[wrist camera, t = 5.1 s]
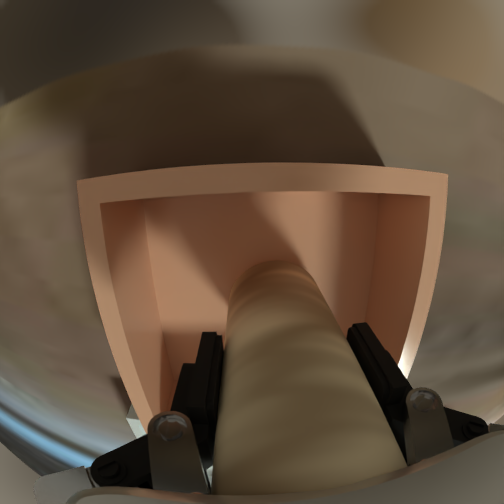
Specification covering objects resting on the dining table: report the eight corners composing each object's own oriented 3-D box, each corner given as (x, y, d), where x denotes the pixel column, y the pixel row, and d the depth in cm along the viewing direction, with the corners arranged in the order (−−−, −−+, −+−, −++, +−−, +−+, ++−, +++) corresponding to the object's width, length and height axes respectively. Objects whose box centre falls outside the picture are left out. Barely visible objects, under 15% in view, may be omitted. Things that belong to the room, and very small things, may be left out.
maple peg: (322, 258, 15) (453, 457, 3) (315, 337, 16) (379, 526, 5) (226, 261, 15) (187, 503, 3) (231, 341, 16) (221, 547, 5)
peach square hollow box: (385, 167, 15) (448, 174, 9) (359, 369, 20) (387, 423, 14) (131, 172, 15) (76, 180, 9) (166, 379, 19) (149, 439, 14)
